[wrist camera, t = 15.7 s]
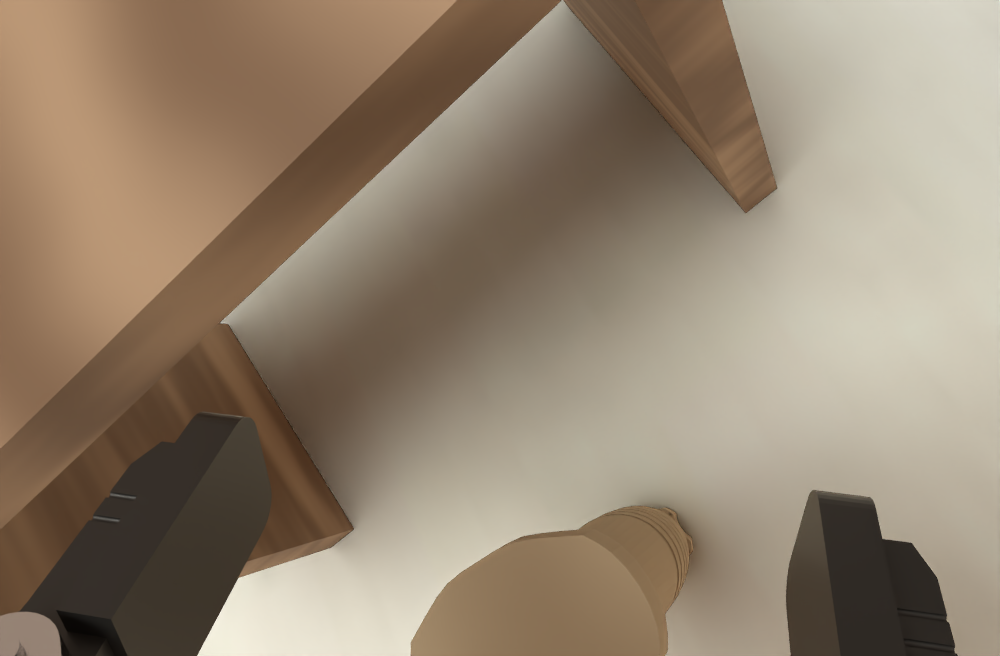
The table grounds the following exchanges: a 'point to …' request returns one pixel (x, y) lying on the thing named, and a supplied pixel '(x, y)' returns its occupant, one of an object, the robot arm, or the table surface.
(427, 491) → the table surface
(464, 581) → the handle
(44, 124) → the shelf
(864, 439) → the table surface
